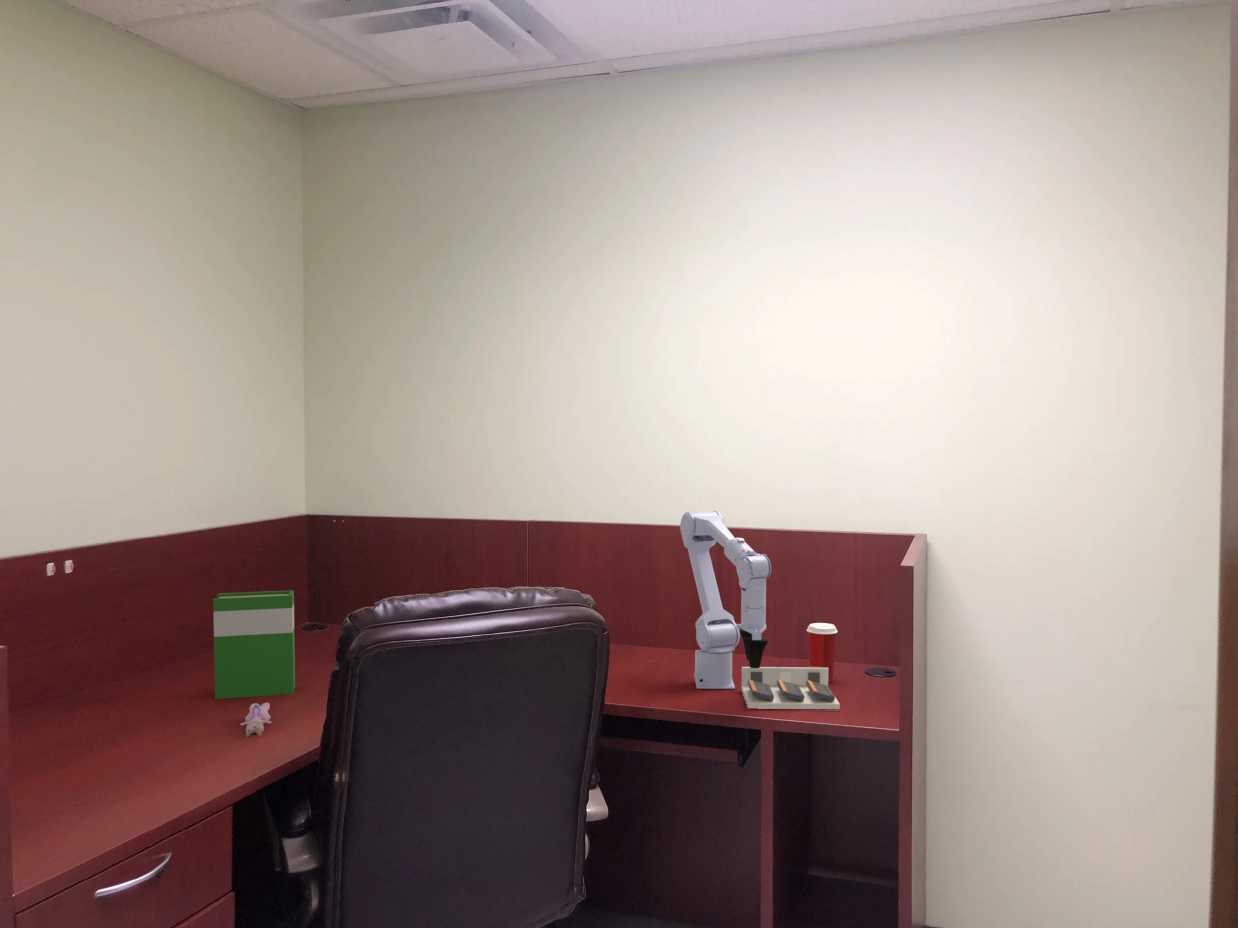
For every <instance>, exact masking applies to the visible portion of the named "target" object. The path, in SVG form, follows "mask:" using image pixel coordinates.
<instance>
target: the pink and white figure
mask: <svg viewBox="0 0 1238 928" xmlns="http://www.w3.org/2000/svg"><path fill="white" fill-rule="evenodd" d="M270 707H271V706H270V703H269V702H264V703H262V704H261V705H260V704H259V703H257V702H256V703H252V704H250V706H249V708H248V709H249V713H248V714H247V715H246V716H245V718H244V719H245V721H244V722H241V723H240V726H245V725H246V727H245V736H244V737H248V736H249V737H250V736H251V735H253V734H256V735H257V736H262V733H263V732H264V729H265V727H264V724H269V725H270V724H271V723H272V721H270V719H271V715H270V714H269V712H268V711H269V710H270Z"/></svg>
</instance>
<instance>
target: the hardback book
mask: <svg viewBox="0 0 1238 928" xmlns="http://www.w3.org/2000/svg"><path fill="white" fill-rule="evenodd" d="M294 592H295V590H293V589H292V590H291V589H290V590H270V591H269V590H268V591H247V592H221V593H217V595H216V598H213V599H212V600H213V601H212V603H213V606H212V607H213V641H214V642H213V648H214V649H213V653H214V654H213V655H214V658H213V660H214V661H213V662H214V699H215V700H226V699H237V698H252V697H253V698H254V697H265V696H269V697H270V696H281V695H280V694H283V695H293V694H294V693H295V689H296V653H295V650H296V648H295V647H296V646H295V645H296V644H295V641H296V640H295V593H294ZM294 688H295V689H294Z"/></svg>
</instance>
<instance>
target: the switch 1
mask: <svg viewBox="0 0 1238 928" xmlns="http://www.w3.org/2000/svg"><path fill="white" fill-rule="evenodd" d="M747 684H748V686H749V689H750V692H751V694H752V695H753V696H757V697H760V698H764V699H768V700H771V701H773V699H774V695H773V693H772V691H771V688H770V686H769V685H767V684H764V683H760V682H757V681H753V680H749V679H748V683H747Z"/></svg>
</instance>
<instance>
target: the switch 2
mask: <svg viewBox="0 0 1238 928" xmlns="http://www.w3.org/2000/svg"><path fill="white" fill-rule="evenodd" d="M776 684H777V686H778V688H779V690H780V692H781V694H782V696H786V697H790V698H793V699H797V700H801V701H803V700H804V695H803V693H802V691H801V689H800V688H799V686H798V685H796V684H792V683H788V682H785V681H781V680H777V683H776Z"/></svg>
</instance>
